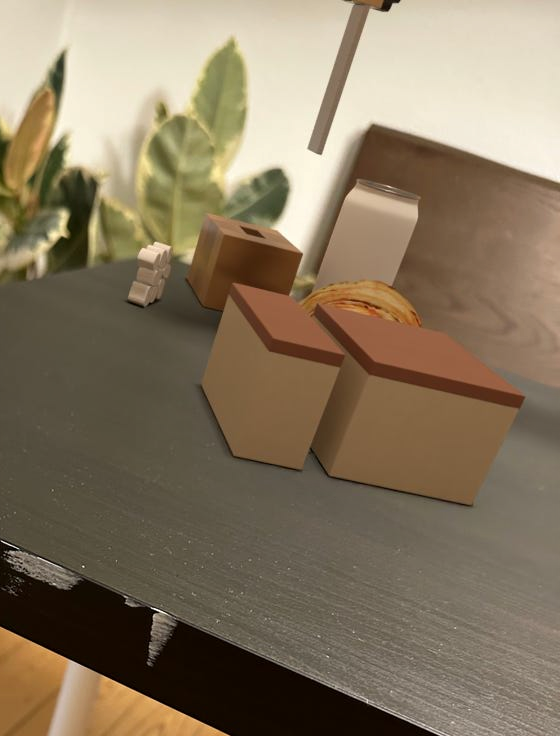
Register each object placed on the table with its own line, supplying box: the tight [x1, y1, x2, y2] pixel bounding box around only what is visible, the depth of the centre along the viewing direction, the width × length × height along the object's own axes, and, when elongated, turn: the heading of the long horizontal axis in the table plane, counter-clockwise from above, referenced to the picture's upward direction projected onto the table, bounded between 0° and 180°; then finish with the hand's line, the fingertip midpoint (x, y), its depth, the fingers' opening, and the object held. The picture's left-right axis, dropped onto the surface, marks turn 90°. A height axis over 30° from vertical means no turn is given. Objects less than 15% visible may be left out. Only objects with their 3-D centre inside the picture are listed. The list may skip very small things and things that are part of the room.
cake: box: [310, 303, 526, 506], centre depth 58 cm, size 9×12×7 cm
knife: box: [306, 0, 384, 156], centre depth 65 cm, size 2×3×14 cm, turn 1°
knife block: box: [186, 212, 304, 312], centre depth 86 cm, size 7×10×6 cm
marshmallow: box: [127, 241, 174, 308], centre depth 78 cm, size 5×1×4 cm, turn 156°
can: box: [311, 178, 422, 293], centre depth 85 cm, size 6×6×12 cm
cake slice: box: [200, 283, 345, 471], centre depth 56 cm, size 4×12×7 cm, turn 2°
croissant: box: [297, 279, 423, 328], centre depth 73 cm, size 21×10×8 cm, turn 163°
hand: (362, 3), depth 64 cm, fingers closed on knife, 2 cm apart
